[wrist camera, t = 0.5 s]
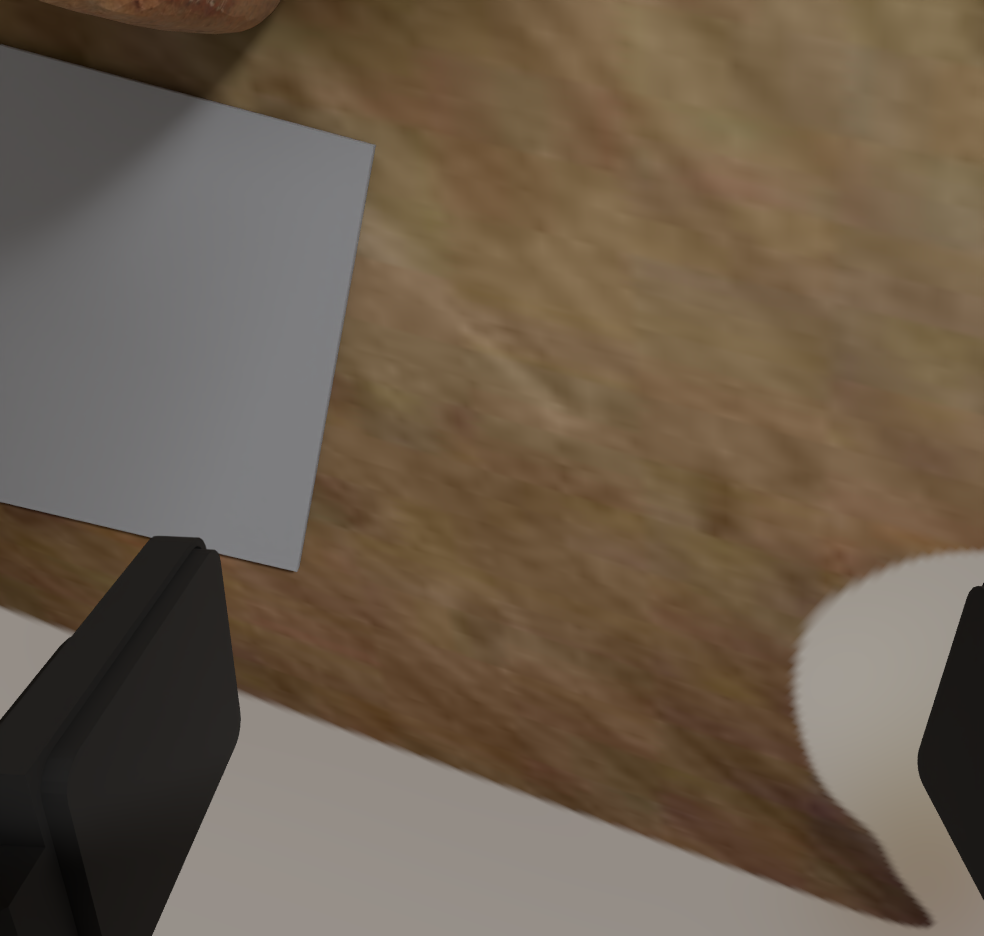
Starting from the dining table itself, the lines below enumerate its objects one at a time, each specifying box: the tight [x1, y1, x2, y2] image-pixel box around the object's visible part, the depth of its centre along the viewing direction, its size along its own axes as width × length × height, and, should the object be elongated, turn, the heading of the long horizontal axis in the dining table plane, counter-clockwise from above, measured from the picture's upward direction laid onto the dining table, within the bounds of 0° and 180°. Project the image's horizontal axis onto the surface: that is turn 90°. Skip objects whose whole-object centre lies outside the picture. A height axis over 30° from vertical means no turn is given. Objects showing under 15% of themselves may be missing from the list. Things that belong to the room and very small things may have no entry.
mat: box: [0, 44, 376, 572], centre depth 41 cm, size 22×18×1 cm
